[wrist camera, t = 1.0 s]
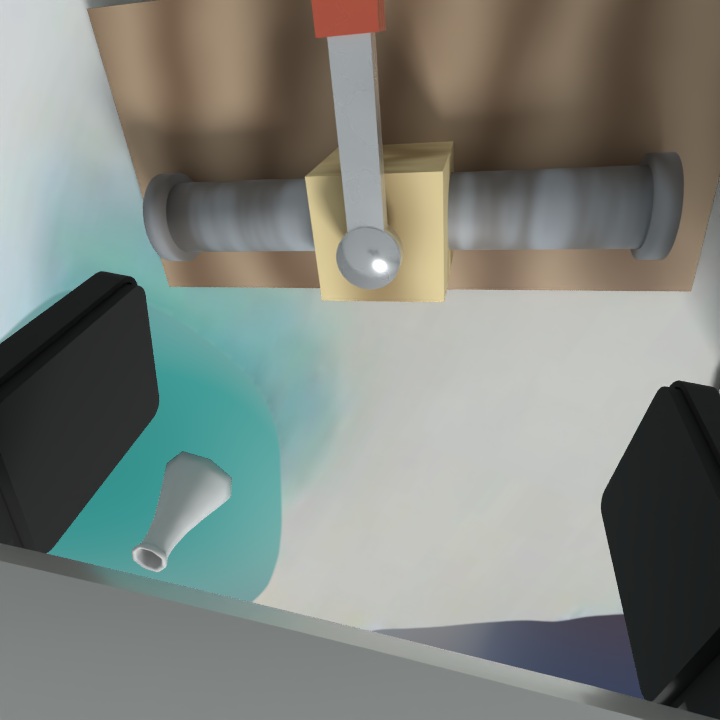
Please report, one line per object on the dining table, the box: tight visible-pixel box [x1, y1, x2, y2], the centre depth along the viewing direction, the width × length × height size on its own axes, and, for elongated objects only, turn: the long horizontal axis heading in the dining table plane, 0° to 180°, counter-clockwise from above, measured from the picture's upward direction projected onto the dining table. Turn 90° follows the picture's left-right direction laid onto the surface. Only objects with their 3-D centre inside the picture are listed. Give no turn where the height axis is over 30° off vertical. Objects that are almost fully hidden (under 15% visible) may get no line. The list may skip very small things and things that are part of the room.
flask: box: [132, 452, 232, 572], centre depth 52 cm, size 7×7×10 cm
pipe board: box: [87, 0, 720, 302], centre depth 31 cm, size 36×18×10 cm, turn 96°
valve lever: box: [311, 0, 403, 289], centre depth 24 cm, size 16×3×2 cm, turn 6°
